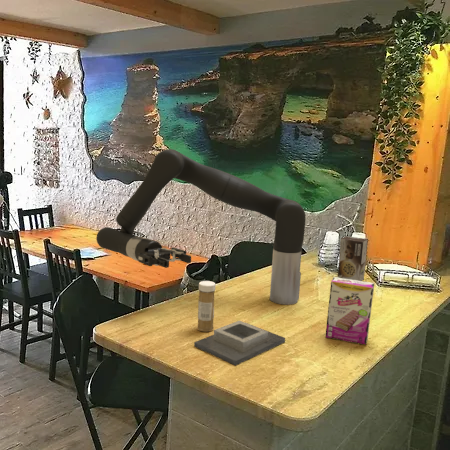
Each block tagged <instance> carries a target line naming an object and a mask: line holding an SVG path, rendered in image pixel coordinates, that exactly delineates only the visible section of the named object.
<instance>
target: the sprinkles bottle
mask: <svg viewBox="0 0 450 450" xmlns="http://www.w3.org/2000/svg"><path fill="white" fill-rule="evenodd" d="M215 291H216V283H215V282H214V281H210V280H202V281H200V282H199V283H198V304H197V305H198V307H197V309H198V311H197V326H196V327H197V328H196V329H197V330H198V331H200V332H202V333H205V332H206V333H207V332H208V333H210V332H212V331H214V318H215Z"/></svg>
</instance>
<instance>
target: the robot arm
mask: <svg viewBox="0 0 450 450" xmlns="http://www.w3.org/2000/svg"><path fill="white" fill-rule="evenodd" d="M173 179H175V180H176V179H177V180H179V181H182V182H186V183H187V184H190V185H192V186H194V187H197V188H198V189H199V190H201V191H202V192H204V193H205V194H206V195H209V197H212V198H214V199H215V200H217V201H219V202H220V203H221V202H222V203H224V204H227V205H229V206H232V207H235V208H238V209H241V210H247V211H252V212H256V213H258V214H260V215H263V216H265V217H267V218H269V219H271V220H273V221H274V222H275V229H274V239H273V246H272V247H273V249H272V262H271V275H270V276H271V277H270V290H269V291H270V292H269V300H270V301H271V302H273V303H274V304H279V305H294V304H297V303H298V300H300V291H301V290H300V289H301V280H302V279H301V276H302V272H301V264H302V260H301V259H302V250H303V244H304V240H305V239H304V238H305V237H304V236H305V228H306V211H305V210H304V208H303V206H302V205H301V204H300V203H299V202H297V201H295V200H293V199H289V198H285V197H282V196H279V195H276V194H273V193H270V192H267V191H266V190H263V189H262V188H260V187H258V186H256V185H255V184H252V183H251V182H249V181H246V180H245V179H242V178H240V177H238V176H235V175H233V174H231V173H228V172H226V171H223V170H221V169H217V168H215V167H211V166H209V165H208V166H207V165H205V164H202V163H200V162H198V161H195V160H194V159H192V158H190V157H188V156H186V154H185V155H184V154H183V153H181V152H180V151H178V150H177V149H172V148H171V149H170V148H168V149H164V150H162V151H161V150H160V151H159V152H158V153H157V154H156V155H155V157H154V159H153V161H152V163H151V165H150V168H149V170H148V172H147V174H146V175H145V177H144V178H143V181H142V182H141V184H140V185H139V187H137V189H136V190H135V192H133V194H132V195H131V197H130V198H129V199H128V200H127V202H126V203H125V204H124V206H123V207H122V209H121V210H120V211H119V212H118V214H117V216H116V218H115V222H116V223H117V224H118V225H119V226H120V227H121V228H120V229H119V230H117V229H115V228H112V227H108V226H107V227H102V228H101V229H100V230H99V231H98V232H97V234H96V238H95V239H96V243H97V245H98V246H99V247H100V248H102V249H104V250H107V251H111V252H114V253H119V254H121V255H122V256H125V257H128V258H131V259H133V260H134V261H136V262H138V263H141V264H144V265H145V266H148V267H153V266H156V267H158V266H159V267H162V268H164V269H168V268H169V267H170V262H171V263H173V262H174V263H175V261H179V262H180V261H181V262H183V263H187V264H190V263H192V256H191V255H189V254H187V250H184V249H180V248H176V247H171V248H170V249H168V248H166V247H163V246H162V245H161V244H162V243H160V242H159V241H157V240H153V239H150V238H146V237H144V236H138V235H134V232H135V229H136V227H137V226H138V225H139V223H140V222H141V221H142V220H143V218H144V216H145V215H146V214H147V212H149V211H148V210H149V209H150V207H151V206H152V204H153V202H154V201H155V199H156V198H157V196H159V194H160V192H161V191H162V190H163V189H164V188H165V187H166V186H167V185H168V184H169V183H171V181H172V180H173ZM171 257H172V258H171Z"/></svg>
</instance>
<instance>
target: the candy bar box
mask: <svg viewBox="0 0 450 450" xmlns="http://www.w3.org/2000/svg"><path fill="white" fill-rule="evenodd" d="M374 290H375V283H374V282H370V281H364V280H362V281H358V280H351V279H345V278H339V277H338V276H333V278H332V279H331V282H330V290H329V298H328V299H329V300H328V309H327V316H326V328H325V334H324V335H325V338H327V339H332V340H336V341H337V340H338V341H344V342H349V343H354V344H358V343H359V344H358V345H363V344H365V346H366V345H367V342H368V338H369V330H370V322H371V314H372V307H373V299H374V292H375V291H374Z"/></svg>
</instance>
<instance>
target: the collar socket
mask: <svg viewBox="0 0 450 450" xmlns="http://www.w3.org/2000/svg"><path fill="white" fill-rule="evenodd" d="M284 343H286V337H284V336H281V335H278V334H276V333H273V332H272V331H268V330H265V329H263V328H261V327H257V326H256V325H253V324H250V323H247V322H245V321H242V320H237V321H234V322H232V323H229V324H226V325H224V326H221V327H219V328H215V329H213V334H211V335H209V336H206V337H204V338H202V339H198V340H196V341H194V342H193V346H194V347H195V348H196V349H199V350H201V351H202V352H205V353H207V354H209V355H212V356H214V357H216V358H218V359H220V360H222V361H224V362H226V363H228V364H231V365H233V366H238V365H240V364H242V363H244V362H246V361H249V360H251V359H253V358H255V357H257V356H258V355H259V356H260V355H262V354H263V353H266V352H267V351H270V350H271V349H275V347H278V346H280V345H282V344H284Z"/></svg>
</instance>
